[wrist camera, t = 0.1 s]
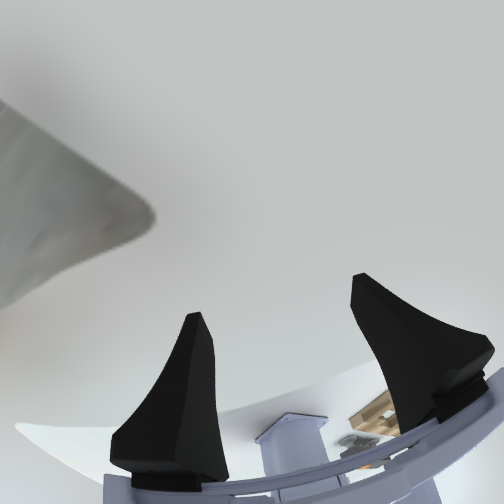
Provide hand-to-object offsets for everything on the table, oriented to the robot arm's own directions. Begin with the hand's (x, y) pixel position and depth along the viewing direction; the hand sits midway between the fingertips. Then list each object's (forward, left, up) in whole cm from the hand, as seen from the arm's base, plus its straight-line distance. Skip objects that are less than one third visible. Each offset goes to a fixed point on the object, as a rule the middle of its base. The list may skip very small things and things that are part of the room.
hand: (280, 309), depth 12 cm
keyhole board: (-18, -41, -11) cm, 46 cm away
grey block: (-29, -40, -11) cm, 50 cm away
